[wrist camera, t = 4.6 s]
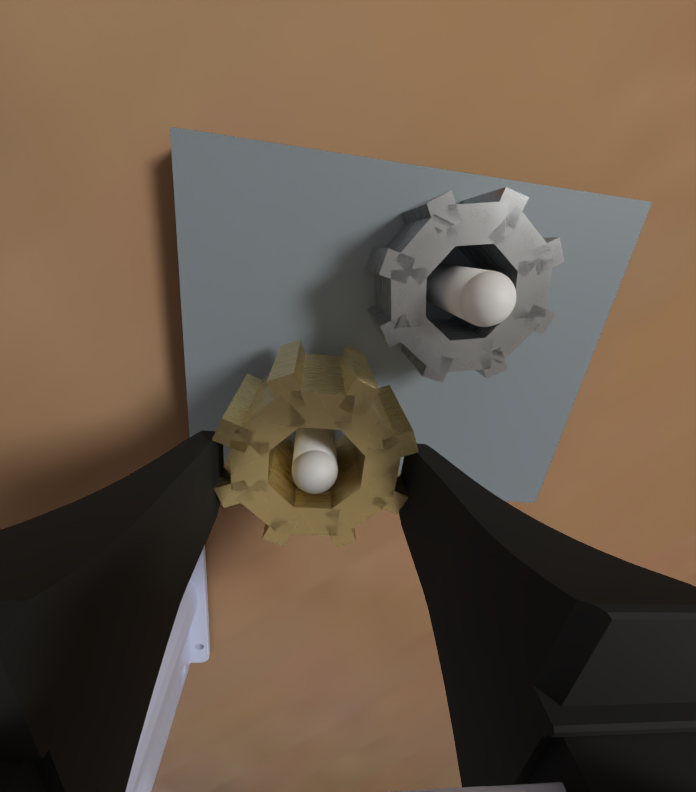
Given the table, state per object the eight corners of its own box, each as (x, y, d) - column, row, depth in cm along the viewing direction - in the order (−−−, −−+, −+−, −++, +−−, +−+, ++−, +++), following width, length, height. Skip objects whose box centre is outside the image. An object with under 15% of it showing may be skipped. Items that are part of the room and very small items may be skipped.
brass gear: (380, 481, 14) (397, 549, 11) (239, 474, 14) (215, 544, 11) (403, 348, 12) (433, 384, 9) (239, 333, 12) (208, 366, 8)
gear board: (519, 483, 19) (607, 588, 13) (202, 468, 17) (144, 582, 11) (618, 206, 14) (832, 178, 8) (186, 140, 12) (67, 43, 6)
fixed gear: (500, 348, 14) (545, 373, 11) (368, 359, 14) (381, 387, 11) (517, 197, 12) (578, 182, 9) (362, 206, 12) (376, 194, 9)
